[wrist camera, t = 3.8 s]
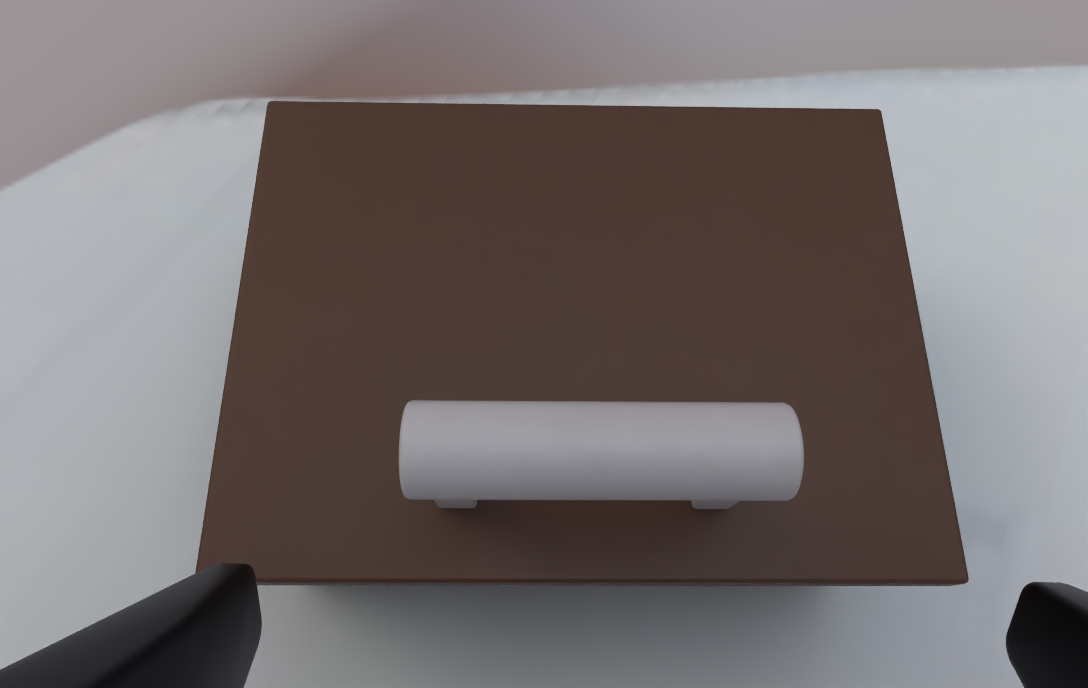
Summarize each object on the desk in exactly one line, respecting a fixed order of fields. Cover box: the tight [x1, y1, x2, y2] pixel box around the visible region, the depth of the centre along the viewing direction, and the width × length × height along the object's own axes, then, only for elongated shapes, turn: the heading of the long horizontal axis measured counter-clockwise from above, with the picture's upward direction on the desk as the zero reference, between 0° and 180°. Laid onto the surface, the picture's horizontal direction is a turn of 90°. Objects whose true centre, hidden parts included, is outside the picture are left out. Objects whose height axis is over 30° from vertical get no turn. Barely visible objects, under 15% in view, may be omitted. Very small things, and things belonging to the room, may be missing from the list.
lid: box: [195, 101, 968, 586], centre depth 14 cm, size 10×13×4 cm
